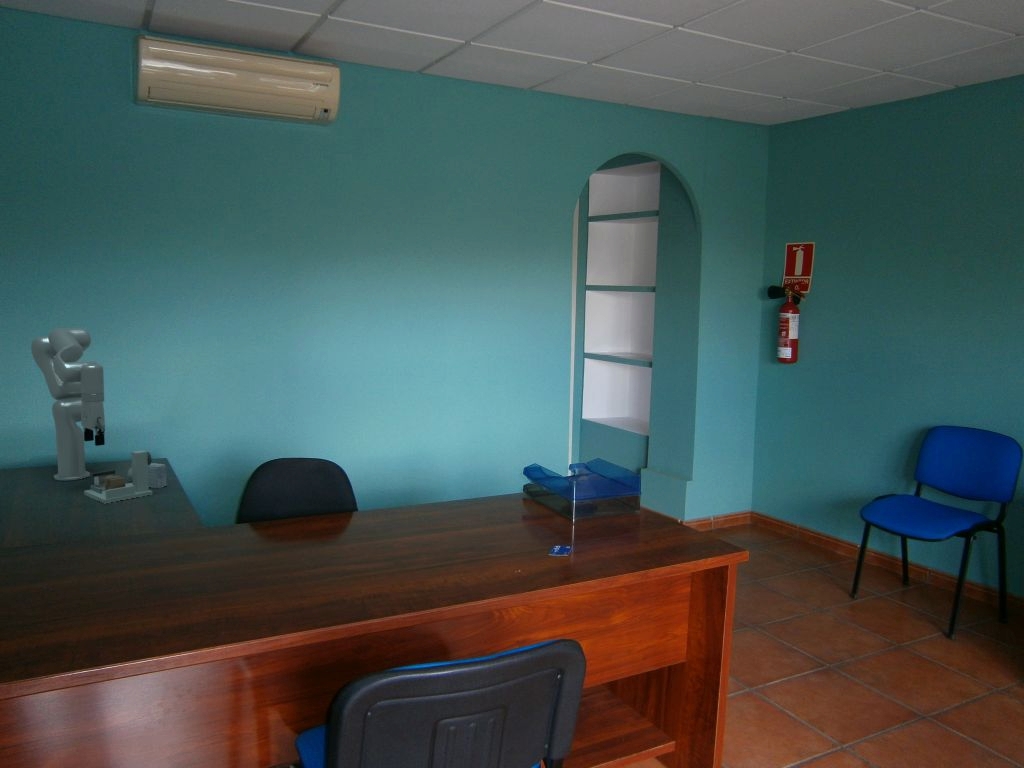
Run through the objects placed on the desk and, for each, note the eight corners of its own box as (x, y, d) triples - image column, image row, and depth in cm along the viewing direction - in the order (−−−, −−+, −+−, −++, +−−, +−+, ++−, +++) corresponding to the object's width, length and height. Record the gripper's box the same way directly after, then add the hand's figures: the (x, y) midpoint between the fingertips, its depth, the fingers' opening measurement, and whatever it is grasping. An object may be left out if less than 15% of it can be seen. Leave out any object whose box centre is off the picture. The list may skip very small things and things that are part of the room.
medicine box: (166, 486, 304) (166, 464, 303) (158, 489, 300) (157, 466, 299) (150, 484, 307) (149, 462, 306) (141, 487, 302) (140, 464, 301)
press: (84, 494, 290) (82, 451, 288) (133, 486, 303) (131, 445, 301) (104, 504, 279) (102, 459, 277) (154, 494, 292) (153, 452, 290)
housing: (105, 494, 286) (104, 477, 285) (119, 491, 290) (118, 474, 289) (111, 496, 283) (110, 479, 282) (125, 494, 286) (125, 477, 286)
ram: (90, 489, 291) (89, 472, 290) (112, 485, 297) (112, 469, 296) (94, 491, 288) (94, 474, 287) (117, 487, 294) (116, 471, 293)
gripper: (72, 395, 295) (74, 440, 298) (91, 401, 284) (93, 448, 287) (93, 393, 301) (95, 437, 303) (113, 399, 290) (114, 445, 292)
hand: (94, 443), depth 295 cm, fingers open, 9 cm apart
